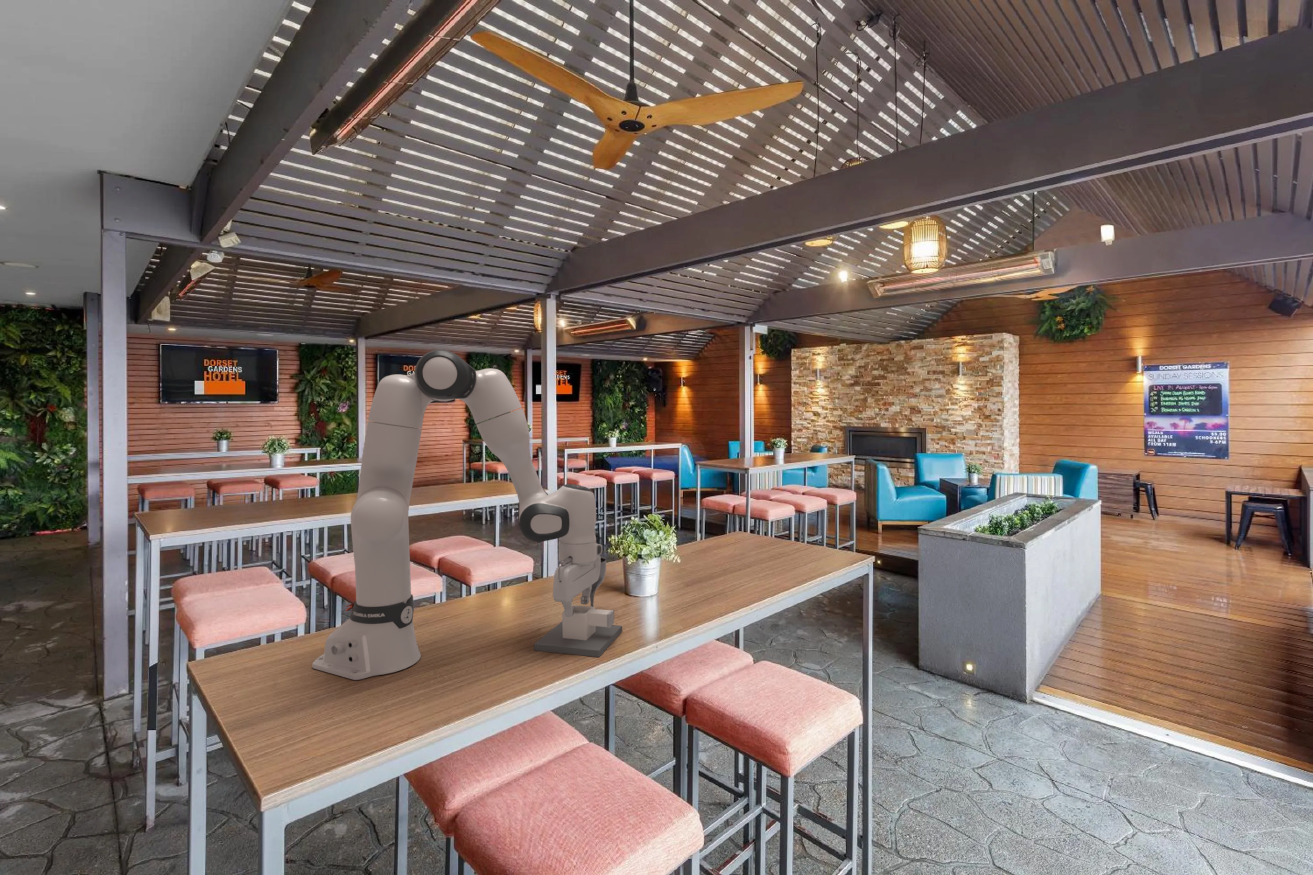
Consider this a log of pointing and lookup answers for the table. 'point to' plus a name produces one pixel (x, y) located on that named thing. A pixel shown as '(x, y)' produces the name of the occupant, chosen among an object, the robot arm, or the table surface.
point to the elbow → (585, 622)
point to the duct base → (578, 641)
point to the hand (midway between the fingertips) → (577, 609)
